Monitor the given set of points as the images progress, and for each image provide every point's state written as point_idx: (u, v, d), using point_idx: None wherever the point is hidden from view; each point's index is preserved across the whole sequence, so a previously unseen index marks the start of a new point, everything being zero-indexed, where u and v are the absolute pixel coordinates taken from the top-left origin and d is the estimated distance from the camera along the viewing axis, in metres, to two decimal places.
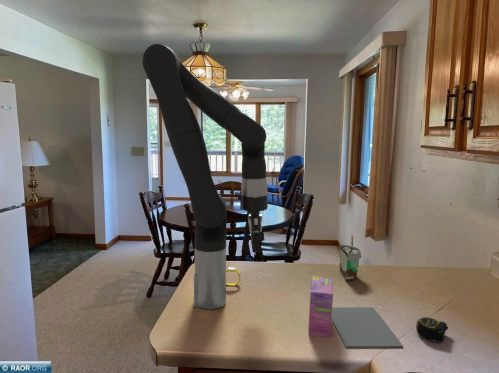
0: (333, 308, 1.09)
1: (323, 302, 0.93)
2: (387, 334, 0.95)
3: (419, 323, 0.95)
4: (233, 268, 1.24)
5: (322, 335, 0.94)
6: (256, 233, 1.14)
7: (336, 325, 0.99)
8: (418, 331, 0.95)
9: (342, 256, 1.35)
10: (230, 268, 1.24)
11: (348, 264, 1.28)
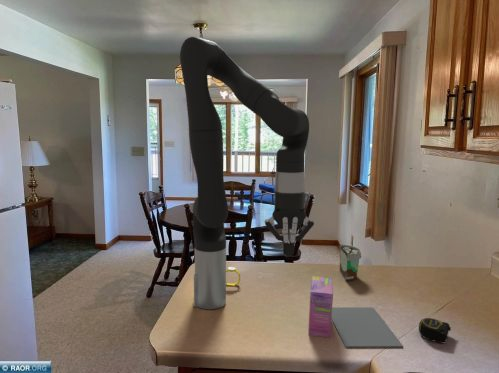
0: (333, 308, 1.09)
1: (323, 302, 0.93)
2: (387, 334, 0.95)
3: (422, 324, 0.95)
4: (233, 268, 1.24)
5: (322, 335, 0.94)
6: None
7: (336, 325, 0.99)
8: (421, 332, 0.94)
9: (342, 256, 1.35)
10: (230, 268, 1.24)
11: (348, 264, 1.28)
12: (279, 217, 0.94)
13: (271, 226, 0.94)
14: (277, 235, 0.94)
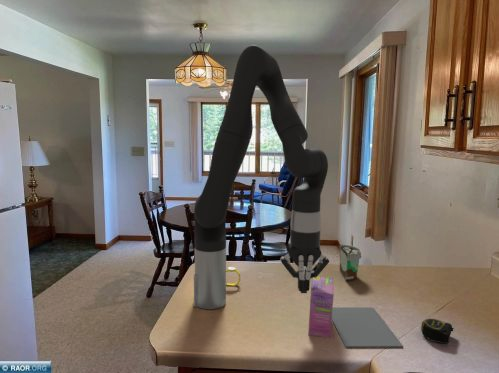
0: (333, 308, 1.09)
1: (324, 302, 0.93)
2: (387, 334, 0.95)
3: (424, 324, 0.94)
4: (233, 268, 1.24)
5: (322, 335, 0.94)
6: None
7: (336, 325, 0.99)
8: (423, 332, 0.94)
9: (342, 256, 1.35)
10: (230, 268, 1.24)
11: (348, 264, 1.28)
12: (295, 255, 0.95)
13: (287, 264, 0.95)
14: (293, 272, 0.96)
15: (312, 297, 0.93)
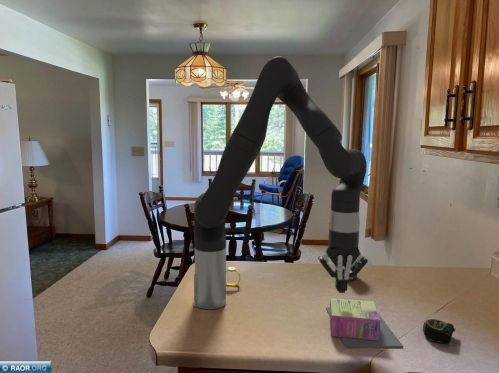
0: None
1: (369, 332, 0.92)
2: (387, 334, 0.95)
3: (426, 325, 0.94)
4: (233, 268, 1.24)
5: (332, 329, 0.93)
6: None
7: None
8: (425, 333, 0.94)
9: None
10: (230, 268, 1.24)
11: None
12: (334, 255, 0.95)
13: (326, 263, 0.96)
14: (331, 272, 0.96)
15: (373, 321, 0.91)
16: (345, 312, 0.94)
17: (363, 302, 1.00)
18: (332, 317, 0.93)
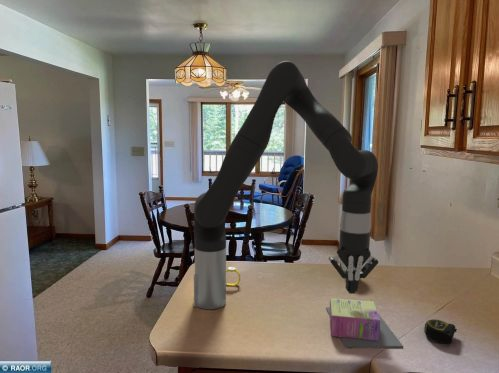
0: None
1: (369, 332, 0.92)
2: (387, 334, 0.95)
3: (427, 325, 0.94)
4: (233, 268, 1.24)
5: (332, 329, 0.93)
6: None
7: None
8: (426, 333, 0.94)
9: None
10: (230, 268, 1.24)
11: None
12: (344, 255, 0.96)
13: (336, 264, 0.96)
14: (342, 273, 0.96)
15: (373, 321, 0.91)
16: (345, 312, 0.94)
17: (363, 302, 1.00)
18: (332, 317, 0.93)
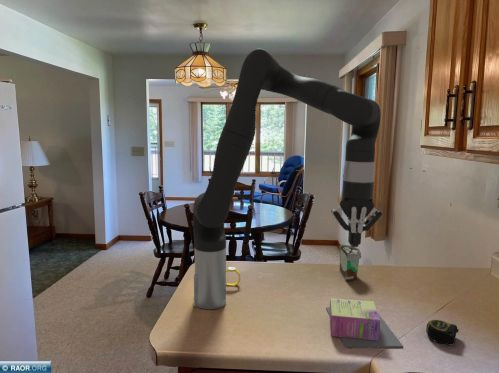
0: None
1: (369, 332, 0.92)
2: (387, 334, 0.95)
3: (429, 326, 0.94)
4: (233, 268, 1.24)
5: (332, 329, 0.93)
6: None
7: None
8: (428, 334, 0.94)
9: (342, 256, 1.35)
10: (230, 268, 1.24)
11: (348, 264, 1.28)
12: (347, 207, 0.94)
13: (339, 216, 0.94)
14: (345, 225, 0.94)
15: (373, 321, 0.91)
16: (345, 312, 0.94)
17: (363, 302, 1.00)
18: (332, 317, 0.93)
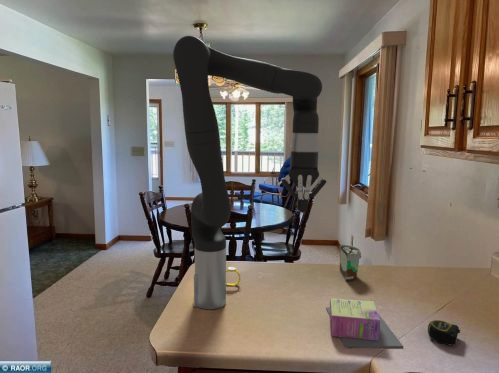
0: None
1: (369, 332, 0.92)
2: (387, 334, 0.95)
3: (431, 326, 0.93)
4: (233, 268, 1.24)
5: (332, 329, 0.93)
6: None
7: None
8: (430, 334, 0.93)
9: (342, 256, 1.35)
10: (230, 268, 1.24)
11: (348, 264, 1.28)
12: (294, 175, 1.02)
13: (287, 183, 1.02)
14: (292, 192, 1.03)
15: (373, 321, 0.91)
16: (345, 312, 0.94)
17: (363, 302, 1.00)
18: (332, 317, 0.93)
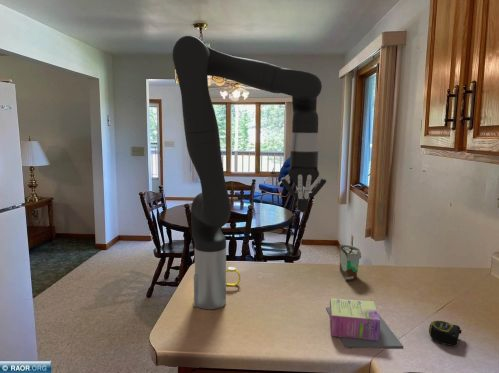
0: None
1: (369, 332, 0.92)
2: (387, 334, 0.95)
3: (432, 326, 0.93)
4: (233, 268, 1.24)
5: (332, 329, 0.93)
6: None
7: None
8: (431, 335, 0.93)
9: (342, 256, 1.35)
10: (230, 268, 1.24)
11: (348, 264, 1.28)
12: (294, 175, 1.02)
13: (287, 183, 1.02)
14: (292, 191, 1.03)
15: (373, 321, 0.91)
16: (345, 312, 0.94)
17: (363, 302, 1.00)
18: (332, 317, 0.93)
